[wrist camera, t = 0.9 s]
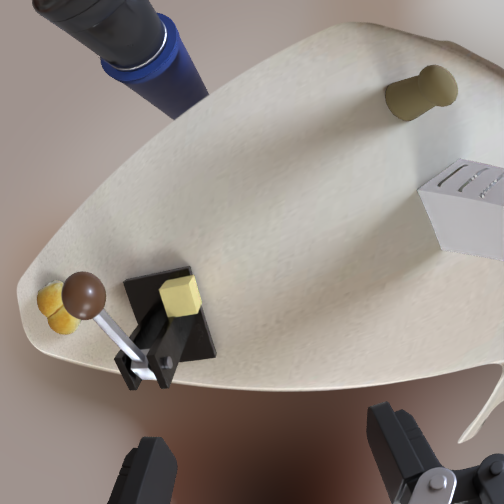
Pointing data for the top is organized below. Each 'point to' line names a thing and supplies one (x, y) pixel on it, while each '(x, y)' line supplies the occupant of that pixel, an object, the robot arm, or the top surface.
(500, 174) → the grater
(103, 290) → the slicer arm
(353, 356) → the top surface
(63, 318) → the bread roll
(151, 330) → the slicer
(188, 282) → the butter
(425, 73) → the cork
